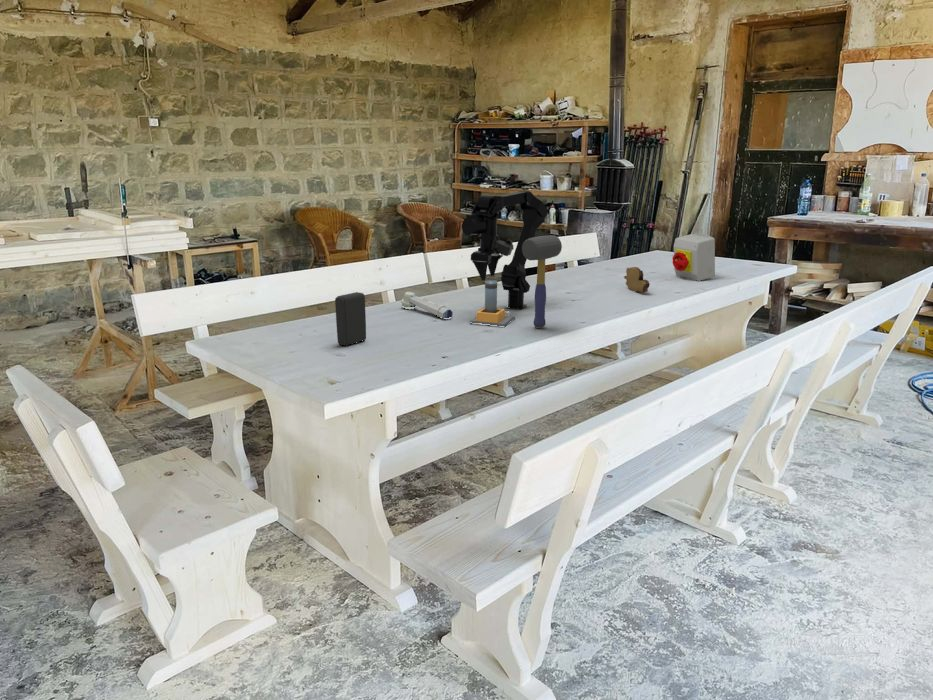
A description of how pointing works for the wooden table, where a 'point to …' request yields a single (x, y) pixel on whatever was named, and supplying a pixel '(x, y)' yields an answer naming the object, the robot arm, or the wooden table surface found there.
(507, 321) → the panel
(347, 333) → the black upright block
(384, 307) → the wooden table surface
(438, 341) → the wooden table surface
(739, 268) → the wooden table surface
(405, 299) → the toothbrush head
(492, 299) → the plug
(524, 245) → the rubber mallet
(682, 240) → the electrical switch box
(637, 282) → the wooden carving
